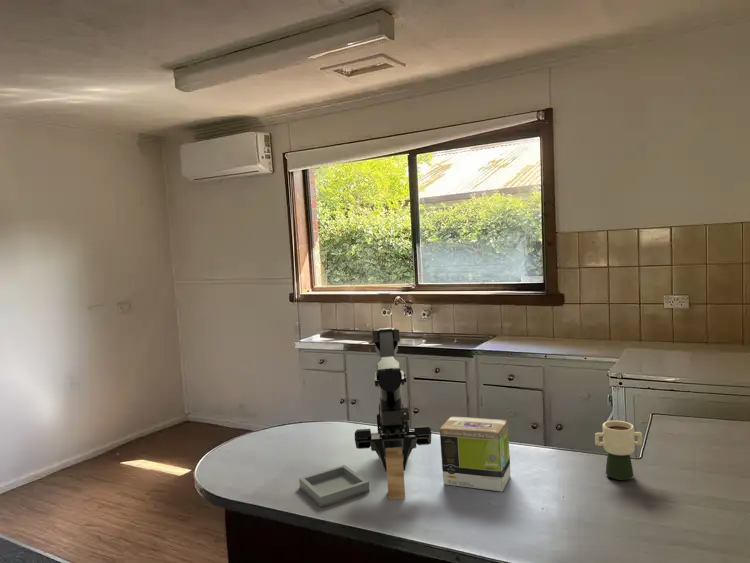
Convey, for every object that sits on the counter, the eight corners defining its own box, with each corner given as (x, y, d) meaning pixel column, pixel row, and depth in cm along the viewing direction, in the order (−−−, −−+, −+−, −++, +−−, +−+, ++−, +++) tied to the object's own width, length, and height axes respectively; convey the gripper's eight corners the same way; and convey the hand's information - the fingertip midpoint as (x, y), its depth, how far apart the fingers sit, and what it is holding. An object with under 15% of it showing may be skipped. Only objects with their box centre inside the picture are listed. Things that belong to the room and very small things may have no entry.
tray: (345, 473, 154) (344, 464, 154) (369, 491, 143) (368, 481, 142) (299, 487, 147) (299, 478, 147) (321, 507, 136) (320, 497, 136)
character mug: (638, 470, 144) (637, 419, 143) (647, 483, 137) (646, 430, 136) (592, 470, 146) (591, 420, 144) (599, 483, 139) (598, 431, 137)
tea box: (511, 475, 146) (508, 418, 145) (502, 493, 137) (499, 433, 136) (454, 468, 153) (450, 414, 151) (442, 485, 143) (438, 427, 142)
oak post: (388, 491, 142) (385, 448, 141) (404, 490, 142) (401, 447, 141) (388, 498, 138) (385, 454, 137) (405, 497, 138) (402, 453, 137)
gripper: (352, 398, 142) (353, 459, 132) (428, 393, 142) (434, 454, 132) (356, 418, 151) (357, 477, 141) (427, 414, 150) (433, 473, 140)
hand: (395, 470), depth 138 cm, fingers closed on oak post, 4 cm apart
